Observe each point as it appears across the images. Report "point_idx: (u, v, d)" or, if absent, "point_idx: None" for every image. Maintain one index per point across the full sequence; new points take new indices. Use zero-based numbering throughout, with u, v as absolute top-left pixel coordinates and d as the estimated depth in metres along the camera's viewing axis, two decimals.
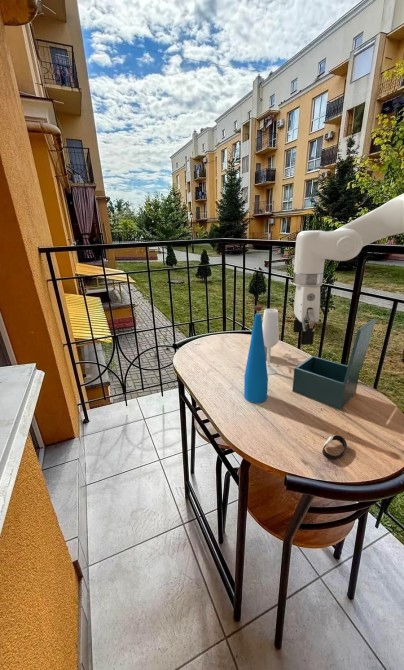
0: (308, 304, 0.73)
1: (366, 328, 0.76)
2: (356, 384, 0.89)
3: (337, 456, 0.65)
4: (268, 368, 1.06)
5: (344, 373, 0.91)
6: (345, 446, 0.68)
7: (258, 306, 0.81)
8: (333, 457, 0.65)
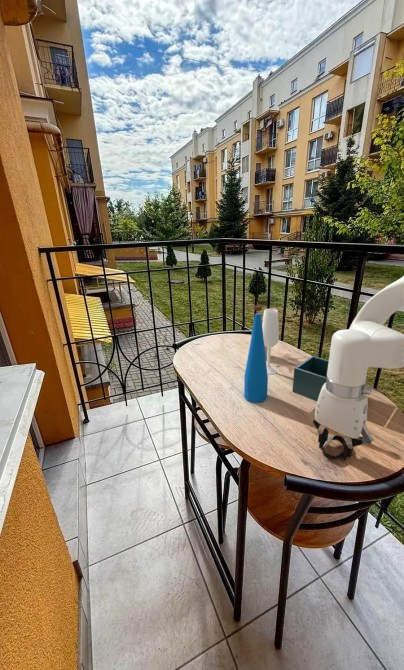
0: (363, 418, 0.60)
1: None
2: None
3: (337, 456, 0.65)
4: (268, 368, 1.06)
5: None
6: None
7: (258, 306, 0.81)
8: (333, 457, 0.65)
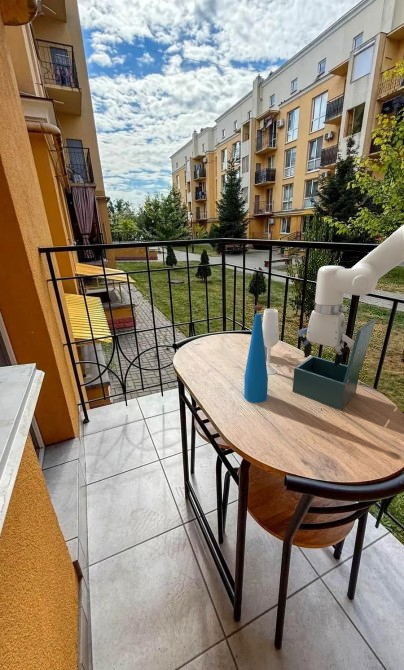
0: (341, 330, 0.82)
1: (366, 328, 0.76)
2: (356, 384, 0.89)
3: None
4: (268, 368, 1.06)
5: (344, 373, 0.91)
6: None
7: (258, 306, 0.81)
8: None
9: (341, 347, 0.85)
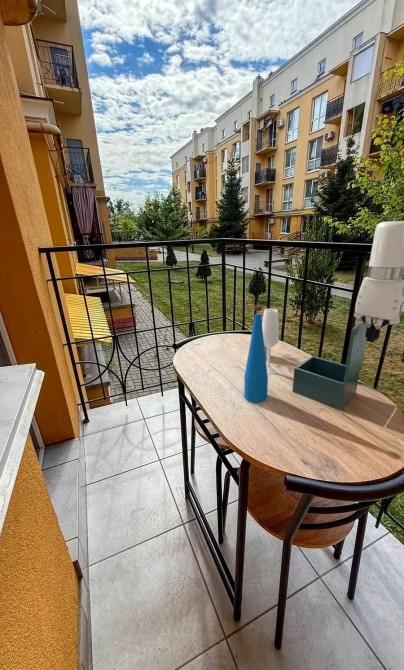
0: (402, 299, 0.69)
1: (361, 327, 0.77)
2: (356, 384, 0.89)
3: None
4: (268, 368, 1.06)
5: (344, 373, 0.91)
6: None
7: (258, 306, 0.81)
8: None
9: None
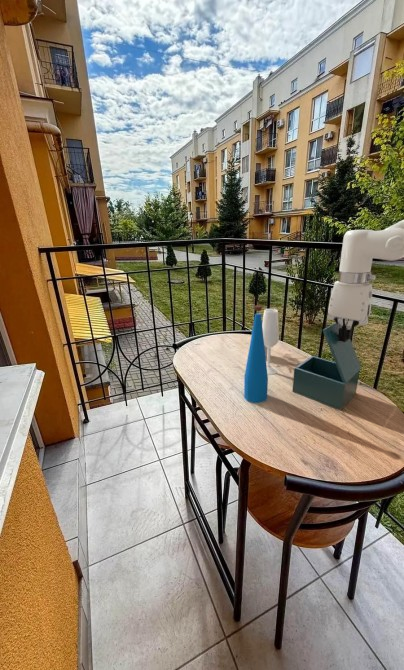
0: (369, 301, 0.75)
1: (332, 327, 0.83)
2: (356, 384, 0.89)
3: None
4: (268, 368, 1.06)
5: None
6: None
7: (258, 306, 0.81)
8: None
9: None
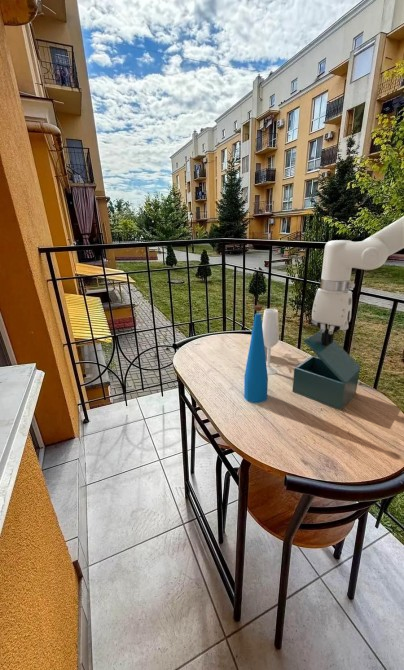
0: (348, 308, 0.79)
1: (313, 336, 0.88)
2: (356, 384, 0.89)
3: None
4: (268, 368, 1.06)
5: None
6: None
7: (258, 306, 0.81)
8: None
9: None
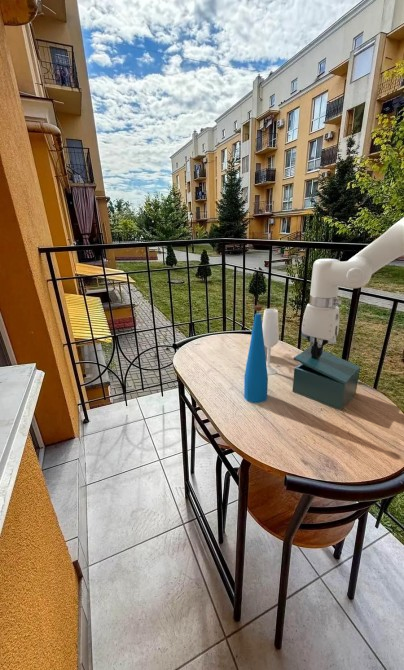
0: (336, 323, 0.83)
1: (302, 353, 0.92)
2: (356, 384, 0.89)
3: None
4: (268, 368, 1.06)
5: None
6: None
7: (258, 306, 0.81)
8: None
9: (323, 341, 0.88)
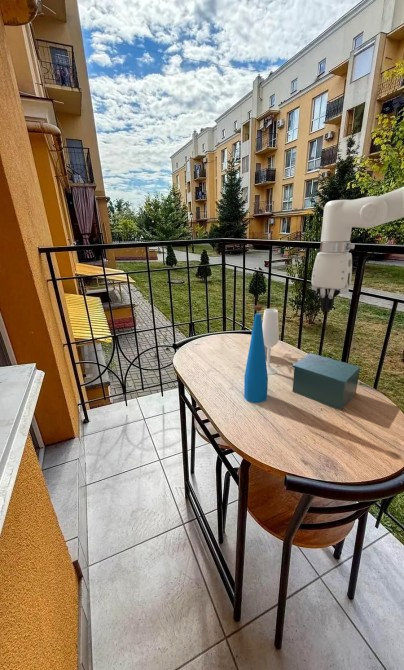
0: (348, 270, 0.78)
1: (301, 360, 0.93)
2: (356, 384, 0.89)
3: None
4: (268, 368, 1.06)
5: None
6: None
7: (258, 306, 0.81)
8: None
9: None
